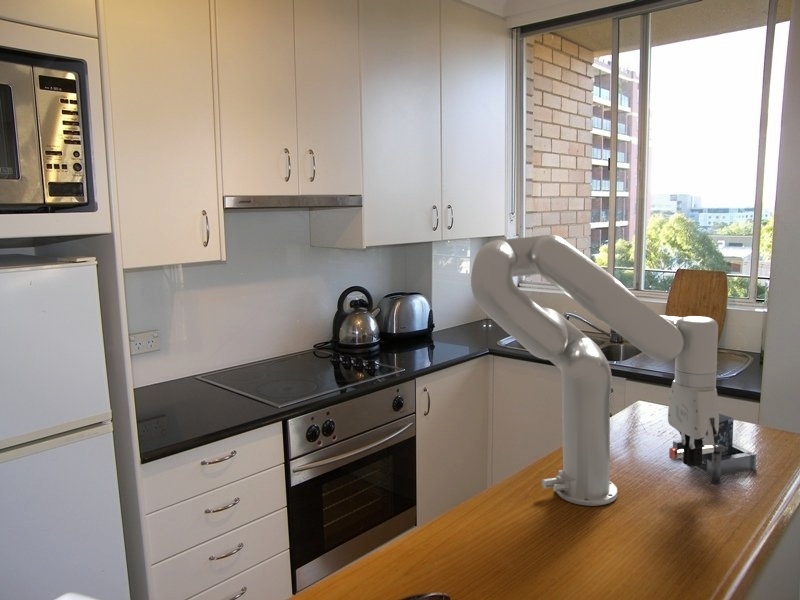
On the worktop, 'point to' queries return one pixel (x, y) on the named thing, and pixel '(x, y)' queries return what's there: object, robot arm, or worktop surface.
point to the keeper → (725, 462)
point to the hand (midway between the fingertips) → (692, 464)
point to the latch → (716, 447)
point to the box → (722, 438)
